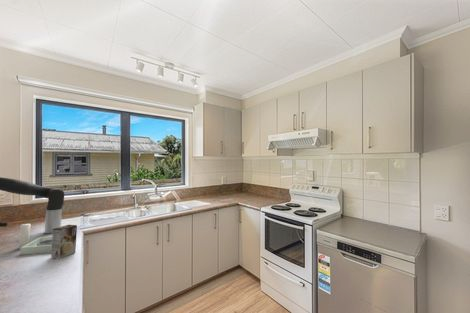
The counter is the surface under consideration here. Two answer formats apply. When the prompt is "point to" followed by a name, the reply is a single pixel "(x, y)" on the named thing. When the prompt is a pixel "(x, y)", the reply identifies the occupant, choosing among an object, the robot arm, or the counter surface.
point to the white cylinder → (24, 235)
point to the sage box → (38, 246)
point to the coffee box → (63, 241)
